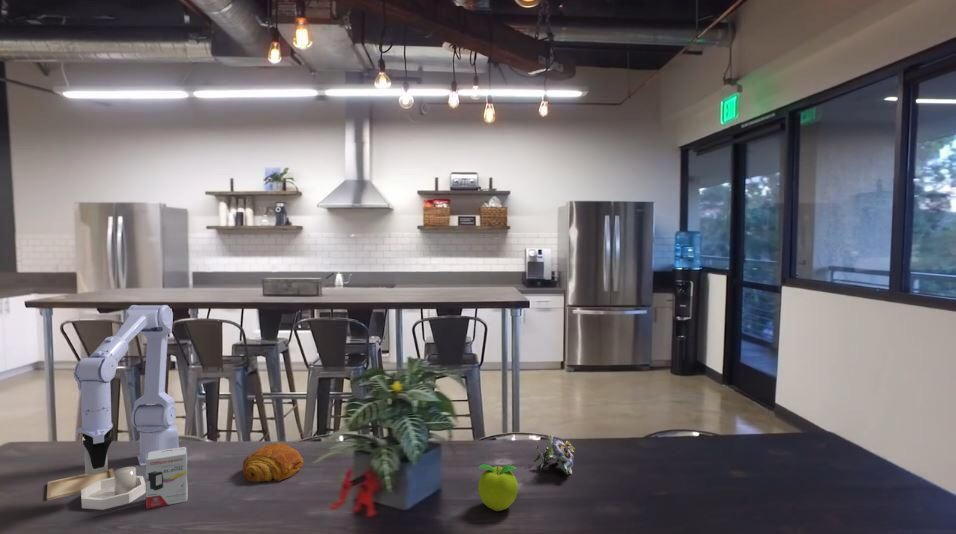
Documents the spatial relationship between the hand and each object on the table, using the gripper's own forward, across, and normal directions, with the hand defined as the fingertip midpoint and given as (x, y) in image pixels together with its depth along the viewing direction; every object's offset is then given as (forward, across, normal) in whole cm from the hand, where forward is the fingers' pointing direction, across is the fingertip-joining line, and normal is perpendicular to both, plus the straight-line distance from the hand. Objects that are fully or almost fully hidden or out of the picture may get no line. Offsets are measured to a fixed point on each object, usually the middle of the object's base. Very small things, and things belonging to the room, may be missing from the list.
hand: (98, 464), depth 128 cm
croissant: (+9, +8, +38) cm, 40 cm away
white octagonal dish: (+9, 0, +3) cm, 9 cm away
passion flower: (+9, +53, +99) cm, 113 cm away
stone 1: (+1, 0, 0) cm, 1 cm away
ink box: (+9, +10, +13) cm, 19 cm away
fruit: (+9, +60, +74) cm, 96 cm away
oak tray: (+9, -12, -3) cm, 15 cm away
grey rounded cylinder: (+8, 0, +5) cm, 10 cm away
